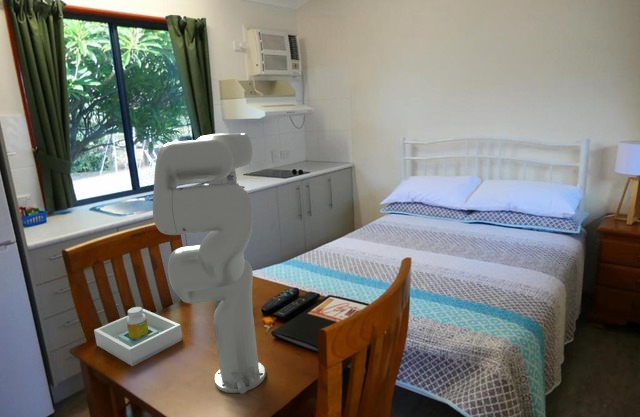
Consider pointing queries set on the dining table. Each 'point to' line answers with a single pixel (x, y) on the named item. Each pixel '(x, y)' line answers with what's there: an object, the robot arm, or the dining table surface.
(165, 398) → the dining table surface
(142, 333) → the supplement bottle
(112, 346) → the storage box
